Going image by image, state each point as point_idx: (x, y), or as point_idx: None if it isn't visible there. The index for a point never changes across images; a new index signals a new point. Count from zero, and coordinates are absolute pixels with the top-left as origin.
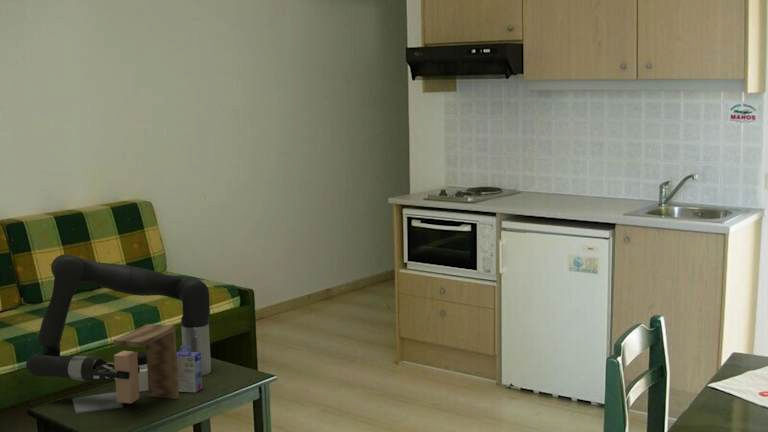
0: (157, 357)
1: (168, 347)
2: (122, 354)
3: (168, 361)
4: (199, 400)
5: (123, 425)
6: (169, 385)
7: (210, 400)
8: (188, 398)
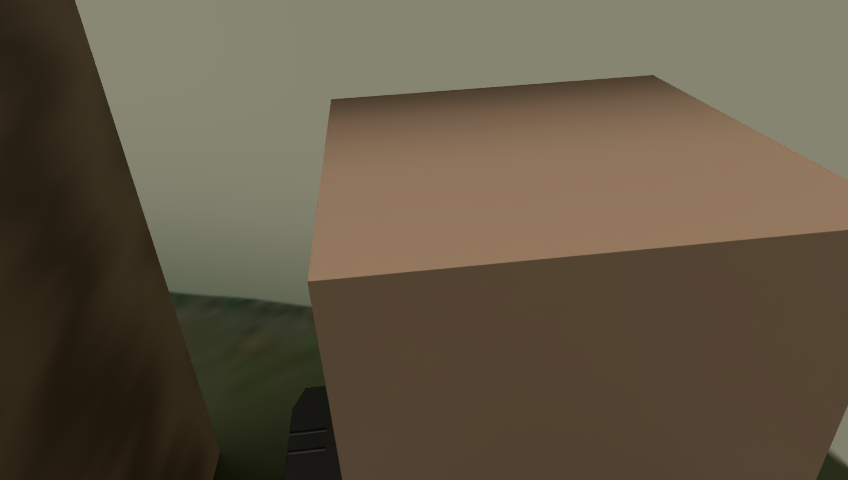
0: (26, 259)
1: (56, 47)
2: (646, 146)
3: (108, 218)
4: (241, 334)
5: (835, 455)
6: (179, 422)
7: (236, 298)
8: (207, 394)
